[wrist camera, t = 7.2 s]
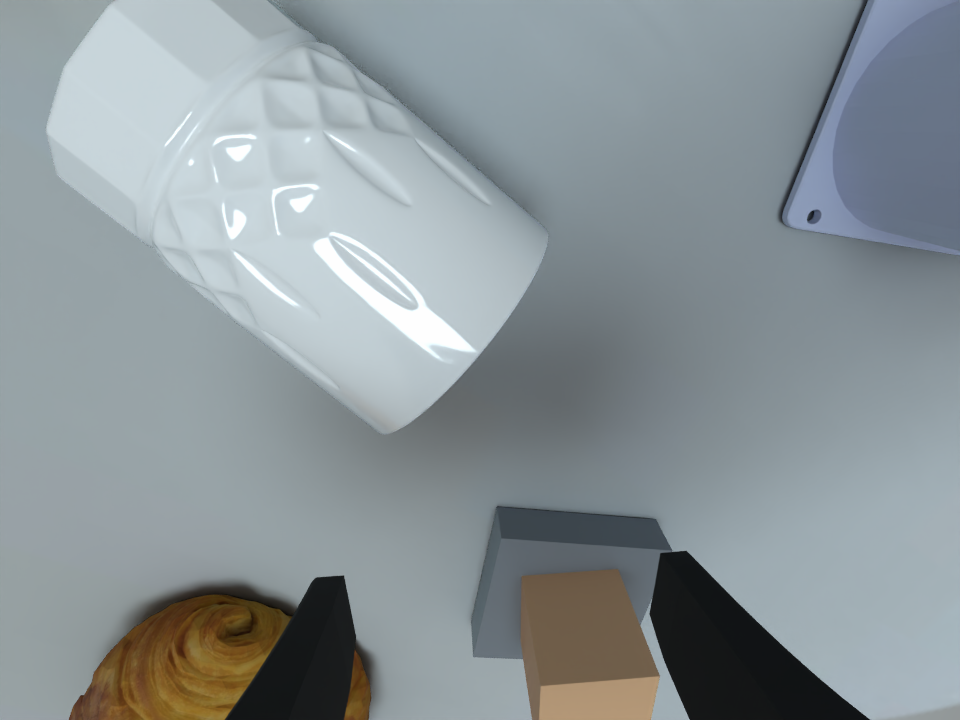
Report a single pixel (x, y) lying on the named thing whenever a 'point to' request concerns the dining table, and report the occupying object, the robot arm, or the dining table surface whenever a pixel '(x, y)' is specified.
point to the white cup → (294, 197)
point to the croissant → (194, 664)
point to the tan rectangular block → (584, 649)
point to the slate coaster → (557, 565)
